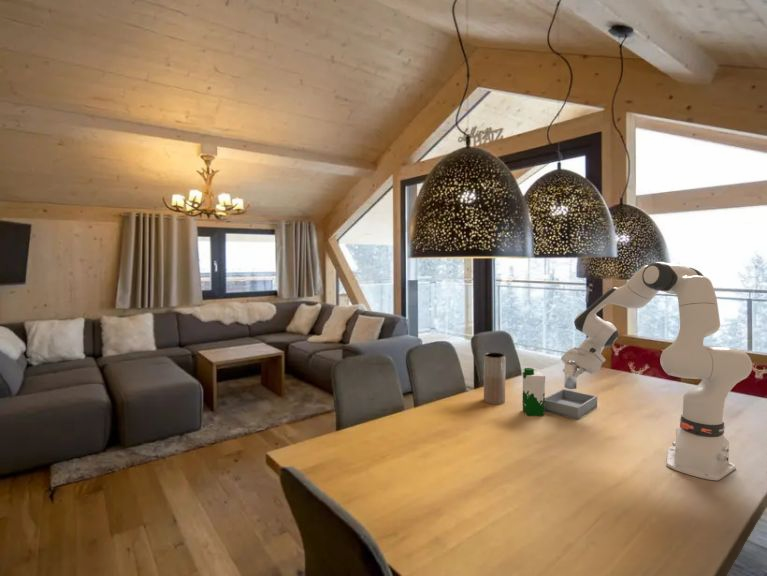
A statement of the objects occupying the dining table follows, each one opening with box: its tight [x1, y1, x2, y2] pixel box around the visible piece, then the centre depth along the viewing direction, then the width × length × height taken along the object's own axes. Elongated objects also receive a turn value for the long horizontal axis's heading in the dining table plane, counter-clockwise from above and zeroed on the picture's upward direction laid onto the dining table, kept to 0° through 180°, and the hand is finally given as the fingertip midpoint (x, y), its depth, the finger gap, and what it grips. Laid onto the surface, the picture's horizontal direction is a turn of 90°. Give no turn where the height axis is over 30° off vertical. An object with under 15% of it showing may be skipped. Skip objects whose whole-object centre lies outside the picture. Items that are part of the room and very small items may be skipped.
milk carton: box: [522, 367, 546, 417], centre depth 191 cm, size 9×9×20 cm
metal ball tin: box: [563, 361, 578, 390], centre depth 196 cm, size 5×5×12 cm
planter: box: [483, 352, 507, 405], centre depth 208 cm, size 10×10×23 cm
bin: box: [544, 388, 598, 420], centre depth 197 cm, size 22×16×5 cm
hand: (569, 374), depth 196 cm, fingers closed on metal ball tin, 5 cm apart
